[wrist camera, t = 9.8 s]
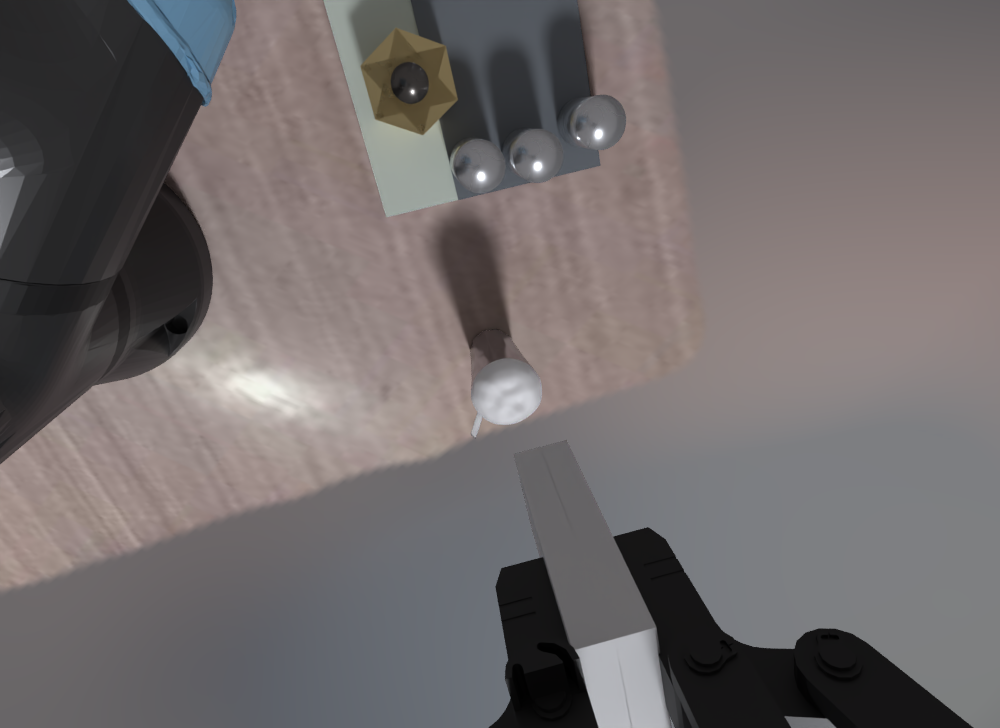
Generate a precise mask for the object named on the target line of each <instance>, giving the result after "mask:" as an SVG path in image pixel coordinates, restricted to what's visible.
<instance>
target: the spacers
mask: <svg viewBox="0 0 1000 728" xmlns="http://www.w3.org/2000/svg"><path fill="white" fill-rule="evenodd" d="M625 126H626V115H625V111H624V109H623V107H622V105H621V104H620V103H619V101H617V100H616V99H615V98H613V97H611V96H608V95H596V96H589V97H582V98H575V99H572V100H570V101H569V102H567V103H566V104H565V105H564V106H563V107H562V109H561V111H560V113H559V115H558V120H557V127H558V132H559V134H560V136H561V138H562V139H563V140H564V141H565V142H566V143H568V144H569V145H572V146H576V147H582V148H588V149H594V150H604V149H608V148H610V147H612V146H613V145H615V144H616V143H617V142H618V141H619V140H620V138H621V137H622V135H623V133H624V130H625ZM562 162H563V148H562V145H561V143H560V141H559V139H558V138H557V137H556V136H555V135H554V134H553V133H551V132H549V131H547V130H544V129H531V128H520V129H517V130H515V131H513V132H511V133H510V134H509V135H508V136H507V138H506V139H505V141H504V143H503V146H502V152H501V150H500V149H499V148H498V147H497V146H496V145H495V144H493V143H492V142H490V141H487V140H483V139H479V138H475V137H469V138H465V139H463V140H461V141H459V142H458V143H457V144H456V145H455V146H454V148H453V150H452V152H451V155H450V167H451V170H452V172H453V174H454V176H455V177H456V178H457V180H458V181H459V182H460V183H461V185H462V186H463V187H464V188H466V189H467V190H469V191H471V192H474V193H486V192H489V191H491V190H493V189H495V188H496V187H497V186H498V185H499V184H500V182H501V181H502V179H503V177H504V174H505V166H506V167H507V168H508V169H509V170H510V171H511V172H512V173H514V174H516V175H518V176H520V177H522V178H524V179H525V180H527V181H530V182H534V183H541V182H545V181H548V180H550V179H551V178H553V177H554V176H555V175H556V174H557V173H558V171H559V169H560V168H561V165H562Z"/></svg>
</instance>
